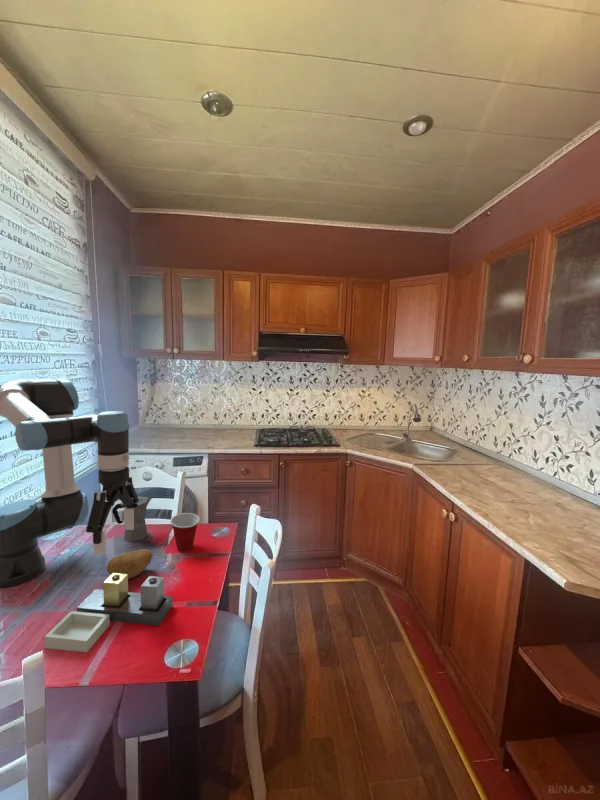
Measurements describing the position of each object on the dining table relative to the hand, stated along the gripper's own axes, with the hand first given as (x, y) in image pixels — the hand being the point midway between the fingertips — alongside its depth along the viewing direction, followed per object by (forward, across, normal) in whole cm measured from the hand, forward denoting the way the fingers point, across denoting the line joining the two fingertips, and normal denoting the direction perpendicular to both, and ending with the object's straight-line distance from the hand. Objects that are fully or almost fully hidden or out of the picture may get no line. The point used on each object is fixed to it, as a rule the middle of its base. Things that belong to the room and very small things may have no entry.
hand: (115, 540), depth 98 cm
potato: (+22, +16, +5) cm, 27 cm away
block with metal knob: (+21, 0, 0) cm, 21 cm away
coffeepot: (+21, +40, +18) cm, 49 cm away
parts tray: (+21, -10, +4) cm, 24 cm away
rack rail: (+21, 0, -3) cm, 22 cm away
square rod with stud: (+21, 0, -11) cm, 24 cm away
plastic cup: (+22, +35, -6) cm, 42 cm away
